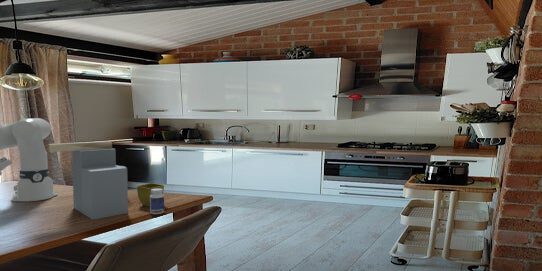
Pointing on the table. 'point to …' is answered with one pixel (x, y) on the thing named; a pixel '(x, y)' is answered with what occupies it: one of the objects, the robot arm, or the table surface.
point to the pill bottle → (156, 201)
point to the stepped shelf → (99, 183)
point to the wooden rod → (79, 146)
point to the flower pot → (147, 192)
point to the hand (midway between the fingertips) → (8, 159)
